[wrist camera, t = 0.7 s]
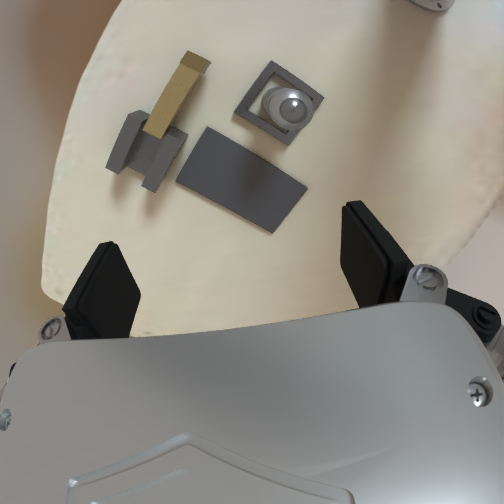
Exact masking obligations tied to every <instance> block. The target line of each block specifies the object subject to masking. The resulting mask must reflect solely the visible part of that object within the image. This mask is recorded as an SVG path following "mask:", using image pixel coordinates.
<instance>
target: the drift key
mask: <svg viewBox="0 0 504 504" xmlns="http://www.w3.org/2000/svg"><path fill="white" fill-rule="evenodd" d="M210 64H211V62H210V61H208V60H206V59H204V58H202V57H200V56H198V55H196V54H194V53H192V52H190V51H187V52H186V54H185V55H184V57H183V58H182V60H181V61H180V65H179V66H178V68H177V70H176V71H175V73H174V74H173V76H172V78H171V79H170V81H169V83H168V84H167V86H166V88H165V89H164V91H163V93H162V95H161V96H160V98H159V100H158V102H157V103H156V105H155V107H154V109H153V111H152V113H151V115H150V116H149V118H148V120H147V122H146V124H145V126H144V128H143V131H145V132H147V133H149V134H151V135H153V136H155V137H157V138H159V139H162V138H163V137H164V136H165V135H166V134H167V132H168V130H169V128H170V126H171V125H172V123H173V121H174V119H175V118H176V116H177V114H178V112H179V111H180V109H181V107H182V106H183V104H184V102H185V101H186V99H187V97H188V96H189V94H190V92H191V91H192V89H193V88H194V86H195V85H196V83H197V81H198V80H199V78H200V77H201V75H202V74H204V73H205V71H206V70H207V68H208V67H209V65H210Z"/></svg>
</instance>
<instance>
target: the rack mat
mask: <svg viewBox="0 0 504 504" xmlns="http://www.w3.org/2000/svg"><path fill="white" fill-rule="evenodd" d="M176 182H178V183H180V184H182V185H184V186H186V187H188V188H190V189H191V190H193V191H195V192H197V193H199V194H201V195H203V196H205V197H207V198H208V199H210V200H212V201H214V202H216V203H218V204H220V205H222V206H223V207H225V208H227V209H229V210H231V211H233V212H235V213H236V214H238V215H240V216H242V217H244V218H246V219H247V220H249V221H251V222H253V223H255V224H256V225H258V226H260V227H262V228H264V229H266V230H267V231H269V232H271V233H273V232H274V231H275V230H276V228H277V227H278V226H279V225H280V223H281V222H282V221H283V220H284V218H285V217H286V216H287V215H288V213H289V212H290V211H291V210H292V208H293V207H294V206H295V205H296V203H297V202H298V201H299V199H300V198H301V197H302V196H303V194H304V193H305V192H306V191H307V189H308V188H307V187H306V186H304V185H303V184H301V183H300V182H298V181H297V180H295V179H294V178H292V177H291V176H289V175H287V174H286V173H284V172H283V171H281V170H280V169H278V168H277V167H275V166H273V165H272V164H270V163H269V162H267V161H265V160H264V159H262V158H261V157H259V156H257V155H256V154H254V153H252V152H251V151H249V150H248V149H246V148H244V147H242V146H241V145H239V144H237V143H236V142H234V141H232V140H231V139H229V138H227V137H225V136H224V135H222V134H220V133H218V132H217V131H215V130H213V129H211V128H209V127H208V126H207V128H206V129H205V131H204V133H203V134H202V136H201V138H200V139H199V141H198V142H197V144H196V146H195V148H194V149H193V151H192V153H191V154H190V156H189V158H188V159H187V161H186V163H185V165H184V166H183V168H182V170H181V172H180V174H179V175H178V177H177V179H176Z"/></svg>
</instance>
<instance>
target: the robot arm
mask: <svg viewBox="0 0 504 504" xmlns="http://www.w3.org/2000/svg"><path fill="white" fill-rule="evenodd" d="M410 1H412V2H414V3H415V4H417V5H418V6H421V7H423V8H425V9H428V10H432V11H443V10H447V9H448V8H450V7H451V6H452V5H453V3H454V1H455V0H410ZM340 264H341V268H342V270H343V273H344V275H345V277H346V279H347V281H348V283H349V286H350V288H351V290H352V292H353V294H354V297H355V299H356V301H357V303H358V306H359V308H357V309H351V310H346V311H341V312H336V313H331V314H325V315H320V316H314V317H308V318H302V319H296V320H290V321H284V322H277V323H270V324H264V325H256V326H249V327H241V328H233V329H225V330H216V331H207V332H197V333H187V334H175V335H163V336H149V337H132V338H129V335H130V331H131V328H132V324H133V321H134V317H135V314H136V311H137V308H138V305H139V301H140V298H141V293H140V290H139V288H138V286H137V284H136V282H135V280H134V278H133V276H132V274H131V272H130V270H129V268H128V266H127V264H126V261H125V259H124V257H123V255H122V253H121V251H120V249H119V246H118V245H117V244H114V242H112V241H109V242H105V243H100V244H99V245H98V247H97V248H96V250H95V252H94V253H93V255H92V256H91V258H90V260H89V261H88V263H87V265H86V266H85V268H84V270H83V271H82V273H81V275H80V277H79V278H78V280H77V282H76V284H75V285H74V287H73V289H72V291H71V293H70V295H69V296H68V298H67V300H66V302H65V304H64V306H63V308H62V310H63V311H64V312H65V314H66V316H65V318H63V317H62V316H60V315H56V316H53V317H51V318H49V319H48V320H47V321H46V322H45V323H44V324H43V325H42V326H41V328H40V330H39V333H38V339H39V345H37V346H36V347H33V348H31V349H30V350H28V351H27V352H25V353H24V354H22V355H21V357H20V358H19V360H18V361H17V362H16V363H15V364H13V365H12V367H11V369H10V375H9V379H8V382H7V383H6V384H5V385H4V387H3V388H2V390H1V391H0V504H504V326H503V325H502V324H501V318H500V315H499V313H498V311H497V310H496V309H495V308H494V307H493V306H492V305H490V304H488V303H486V302H483V301H481V300H478V299H476V298H473V297H471V296H468V295H466V294H463V293H460V292H458V291H455V290H453V289H450V288H447V287H448V280H447V277H446V275H445V274H444V273H443V272H442V271H441V270H440V269H438V268H437V267H434V266H432V265H427V264H420V265H416V266H414V265H413V263H412V262H411V261H410V259H409V258H408V257H407V255H406V254H405V253H404V251H403V250H402V249H401V247H400V246H399V245H398V243H397V242H396V241H395V240H394V238H393V237H392V236H391V235H390V233H389V232H388V231H387V230H386V229H385V228H384V227H383V226H382V225H381V223H380V222H379V221H378V220H377V218H376V217H375V216H374V215H373V214H372V213H371V211H370V210H369V209H368V208H367V207H366V206H365V204H364V203H363V202H362V201H361V200H359V201H350V202H347V203H346V206H343V207H342V229H341V254H340Z"/></svg>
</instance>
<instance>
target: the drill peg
mask: <svg viewBox="0 0 504 504" xmlns="http://www.w3.org/2000/svg"><path fill="white" fill-rule="evenodd" d="M262 106H263V109H264V111H265V112H266V113H267V114H268V115H269V116H270V118H271V119H272V120H273V121H274V122H275V123H276V124H277V125H278V126H280V127H281V128H283V129H286V130H298V129H301V128H303V127H305V126H306V125H307V124H308V123H309V122H310V121H311V119H312V116H313V111H314V109H313V104H312V101H311V99H310V98H309V97H308V96H307V95H306V94H305V93H303V92H302V91H299V90H296V89H290V88H284V87H274V88H271V89H270V90H268V91H267V92H266V93H265V95H264V96H263V99H262Z"/></svg>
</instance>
